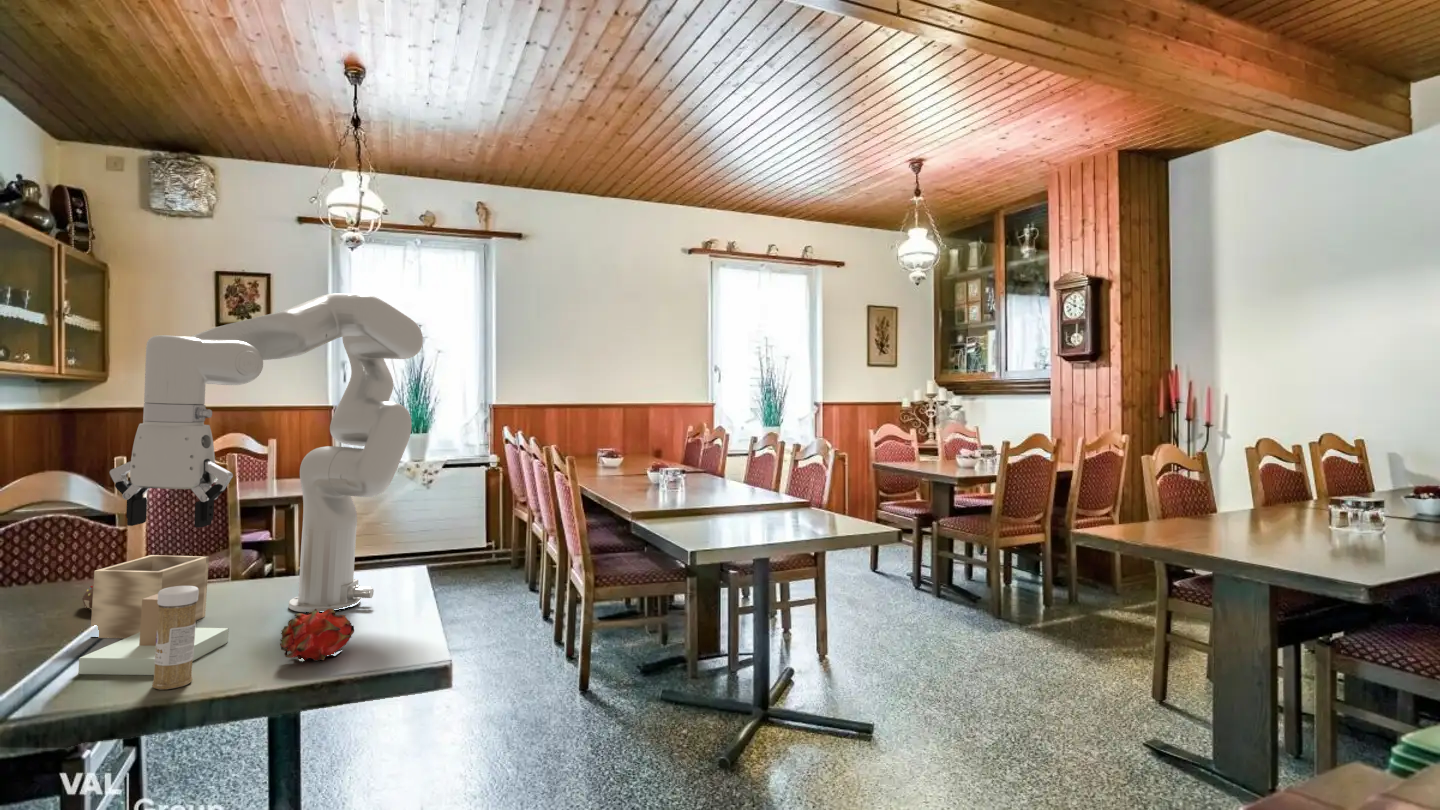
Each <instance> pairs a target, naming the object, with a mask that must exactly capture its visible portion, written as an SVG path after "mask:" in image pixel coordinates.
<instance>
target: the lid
mask: <svg viewBox="0 0 1440 810" xmlns="http://www.w3.org/2000/svg"><path fill="white" fill-rule="evenodd" d="M157 602H158V594H155V595H153V596H150V597H147V598H144V599H142V611H141V627H140V632H139V633H137V634H135V635H132V636H130V637H128V638H125V639H124V638H122V639H121V640H118V641H116V642H114V643H111V644H109V645H107V646H104V647H102V648H100V649H97V650H95V651H92V652H90V653H88V654H85V655H83V656H81V657H79V661H78V671H77V672H78V675H120V676H121V675H124V676H126V675H128V676H129V675H131V676H133V675H135V676H154V669H155V649H156V635H157V628H158V615H159V606H158V603H157ZM229 631H230V628H229V627H228V628H227V627H226V628H225V627H219V628H218V627H195V641H194V654H193V660H192V662H193V661H195V660H197V659H199V658H202V657H203V656H205V655H207V654H208V653H210V652H212V651H214V650H216V649H219V648H221V646H224V645H226V644H227V643H228V642H229V633H230V632H229Z"/></svg>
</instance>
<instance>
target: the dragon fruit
mask: <svg viewBox="0 0 1440 810" xmlns="http://www.w3.org/2000/svg"><path fill="white" fill-rule="evenodd" d="M354 633H355V626H354V625H352V622H351V621H350V620H349V619H348V618H347V617H346V615H345V614H337V613H336V611H334V610H333V609H332V608H329V609H327V610H326V611H324V612H322V613H319V612H318V610H317V609H315V610H314V611H312V612H309V613H306V614H305V613H303V612H298V613H296V614H294V619H293V618H292V619H289V620H288V622H287V625H284V626H283V628H282V629H281V633H280V634H281V636H282V637H281V639H279V641H280V644H279V646H280V650H281V651H284V657H285V658H288V659H289V658H290V659H291V658H297V657H298V658H297V660H298V659H301V658H303V659H304V660H306V659H307V658H308V659H312V660H313V659H314V660H313V661H315V660H317V661H320V659H321V660H323V659H324V660H325V659H326V657H325V656H327V655H331V654H334V652H336V651H340V650H341V649H342V648H343V647H344V646H345V645H347V643H348V642H349V640H350V639H351V638H352V636H353V634H354ZM288 652H290V653H288ZM327 657H328V656H327ZM308 659H307V660H308ZM307 660H306V661H307ZM324 660H323V661H324Z"/></svg>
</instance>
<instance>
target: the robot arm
mask: <svg viewBox="0 0 1440 810" xmlns="http://www.w3.org/2000/svg"><path fill="white" fill-rule="evenodd" d="M419 326H420V325H418V324H417V323H416V321H415V320H413V319H412V318H410V317H409V316H407V315H405V314H404V313H403V312H401V311H400V310H398V309H396V308H395V307H393V306H392V305H390V304H389V303H387V302H386V301H384V300H383V299H380V298H378V296H373V295H371V294H368V293H342V292H339V293H337V292H336V293H327V294H323V295H319V296H317V297H315V298H312V299H309V300H307V301H304V302H301V303H298V304H296V305H294V306H291V307H287V308H286V309H282V310H280V311H277V312H274V313H269V314H265V315H260V316H255V317H253V318H249V319H245V320H240V321H237V322H236V321H235V322H231V323H227V324H224V325H220V326H216V327H213V328H211V329H208V330H205V331H201V332H198V333H196V334H194V335H191V336H182V335H180V336H179V335H166V334H163V335H153V336H151V337H149V338H148V340H147V342H146V347H145V368H144V371H145V373H144V394H143V395H144V398H143V399H144V400H143V416H142V419H143V420H142V423H138V427H137V430H136V432H135V436H134V439H133V440H134V441H133V445H132V450H131V458H130V461H128V462H126V463H123V464H122V465H119V466H116V467H114V468H112V469H110V470H109V476H110V478H111V480H112V481H113V483H115V484H114V487H115V489H116V490H118V492H119V493H120V494H122V495H121V496H122V499H123V500H126V513H125V515H126V516H125V517H126V524H127V525H126V526H128V527H134V526H137V525H141V524H145V523H146V522H147V515H148V514H147V512H148V511H147V510H148V509H147V508H148V499H147V497H145V496H144V495H145V494H146V493H147V492H148V491H149V490H150V489H163V490H164V489H165V490H167V489H168V490H191V491H192V492H193V494H194V495H195V496H196V497H197V498H198V499H199V501H195V503H194V527H195V528H204V527H207V526H210V525H212V521H213V520H214V513H215V512H214V511H215V507H214V506H215V500H217V499H218V498H219V496H220V495H221V494H222V493H224V492H225V491H226V489H227V486H228V485H229V483H230V482H231V480H232V479H233V477H234V474H233V472H231V471H229V470H227V469H226V468H224V467H223V466H220V465H218V464H216V458H215V457H216V455H215V446H214V438H213V434H212V429H211V424H205V421H206V419H207V418H208V419H211V418H212V416H213V410H211V409H207V408H206V407H207V406H206V385H218V386H241V385H246V384H248V383H251V382H252V381H254V380H256V379H257V378H258V377H259V376H260V375H261V373H262V372H263V369H264V361H267V360H268V361H270V360H282V359H287V358H293V357H298V356H302V355H304V354H306V353H308V352H310V351H313V350H315V349H316V348H319V347H321V346H323V345H325V344H328V343H329V342H332V341H334V340H336V339H339V338H342V344H343V347H344V350H345V353H346V354H347V357H348V360H349V364H350V370H351V374H350V377H349V378H350V379H349V382H348V383H347V386H346V388H345V390H344V393H343V395H342V396H341V398H340V401H339V403H338V405H337V408H336V409H335V411H334V414H333V416H332V418H331V421H330V425H329V432H330V433H329V434H330V435H331V437H332V438H333V440H335V441H337V442H338V443H341V444H345V445H350V446H357V447H349V446H348V447H347V446H336V445H331V446H329V445H327V446H326V445H325V446H320V447H316V448H314V449H312V450H311V451H309V452H308V453H306V455H305V456H304V457H303V459H302V460H301V462H300V463H301V464H300V466H299V479H300V487H301V491H302V501H303V502H302V503H303V504H302V505H303V508H302V509H303V513H302V531H301V543H300V544H301V545H300V561H299V562H300V563H299V580H298V581H299V582H298V593H297V594H298V596H295V597H293V598H291V599H290V600H289V601H288V609H290V610H291V611H294V612H298V613H306V612H312V611H314V610H315V609H317V610H318V612H320V611H326V610H327V609H329V608H332V609H333V610H334V609H339V608H343V607H347V606H350V605H352V604H355V603H357V602H358V601H359V600H360V599H361V600H362V599H372V598H373V597H374V591H375V590H374V588H373V587H372V586H361V585H360V584H359V579H354V576H355V575H354V574H355V561H356V560H355V558H356V557H355V556H356V542H357V541H356V540H357V525H358V513H357V509H356V504H355V503H354V500H353V499H352V498H353V497H360V498H374V497H378V496H379V495H382V494H383V493H384V492H385V491H386V490H387V489H388V488H389V486H390V485H391V483H392V481H393V479H394V477H395V475H396V471H397V470H398V468H399V465H400V462H401V459H402V458H403V456H404V455H403V454H404V453H405V450H406V447H407V445H408V443H409V440H410V438H411V433H412V429H413V428H412V425H413V424H412V417H411V414H410V412H409V410H408V409H407V408H406V406H404V405H403V404H401V403H398V402H394V401H390V399H391V395H393V390H394V379H393V377H392V374H391V372H390V370H389V367H388V365H387V363H386V361H385V359H387V360H391V359H392V360H407V359H411V358H414V357H415V356H416V355H418V354H419V352H420V351H421V350H422V346H423V342H424V337H423V333H422V330H421V329H420V327H419ZM360 446H361V447H363V448H358V447H360ZM127 474H129V476H130V478H129V479H130V480H128V477H127ZM216 478H217V480H216ZM215 480H216V482H215ZM214 483H215V484H214ZM213 484H214V485H213Z"/></svg>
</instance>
